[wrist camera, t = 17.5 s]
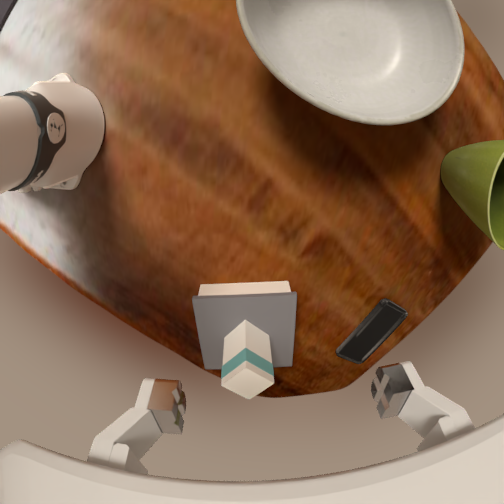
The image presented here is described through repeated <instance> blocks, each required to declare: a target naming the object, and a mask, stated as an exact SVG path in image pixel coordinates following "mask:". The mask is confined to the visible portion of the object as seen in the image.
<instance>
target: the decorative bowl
mask: <svg viewBox="0 0 504 504" xmlns="http://www.w3.org/2000/svg"><path fill="white" fill-rule="evenodd" d="M236 6H237V12H238V16H239V20H240V24H241V26H242V29H243V32H244V34H245V36H246V38H247V40H248V42H249V44H250V45H251V47H252V49H253V50H254V52H255V53H256V55H257V56H258V58H259V59H260V60H261V61H262V63H263V64H264V65H265V66H266V68H267V69H268V70H269V71H270V72H271V73H272V74H273V75H274V76H275V77H276V78H277V79H278V80H279V81H280V82H281V83H283V84H284V85H285V86H286V87H287V88H288V89H290V90H291V91H292V92H294V93H295V94H296V95H298V96H299V97H301V98H302V99H304V100H305V101H307V102H309V103H310V104H312V105H314V106H316V107H318V108H320V109H322V110H324V111H326V112H328V113H330V114H333V115H335V116H338V117H341V118H344V119H347V120H351V121H355V122H359V123H364V124H371V125H399V124H405V123H409V122H413V121H416V120H418V119H421V118H423V117H425V116H427V115H429V114H431V113H432V112H434V111H435V110H437V109H438V108H439V107H440V106H441V105H442V104H444V102H445V101H446V100H447V99H448V98H449V97H450V95H451V94H452V92H453V91H454V89H455V87H456V85H457V83H458V81H459V78H460V76H461V72H462V68H463V63H464V38H463V32H462V28H461V24H460V20H459V17H458V15H457V12H456V9H455V7H454V5H453V3H452V1H451V0H236Z"/></svg>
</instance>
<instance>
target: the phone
mask: <svg viewBox="0 0 504 504" xmlns="http://www.w3.org/2000/svg"><path fill="white" fill-rule="evenodd" d="M407 314H408V313H407V311H406V310H405V309H403V308H402V307H400V306H399V305H397V304H395V303H394V302H392V301H390V300H389V299H387V298H385V299H382V300H381V301H380V302H379V303H378V304H377V305H376V307H375V308H374V309H373V310H372V311H371V312H370V313H369V315H368V316H367V317H366V318H365V319H364V320H363V321H362V322H361V323H360V325H359V326H358V327H357V328H356V329H355V330H354V331H353V332H352V333H351V334H350V335H349V337H348V338H347V339H346V340H345V341H344V342H343V343H342V344H341V345H340V346H339V347H338V348H337V349H336V354H337V356H339V357H341V358H344V359H346V360H349V361H352V362H354V363H357V364H361V363H363V362H364V361H365V360H366V359H367V358H368V357H369V356H370V355H371V354H372V353H373V352H374V351H375V350H376V349H377V348H378V347H379V346H380V345H381V344H382V343H383V342H384V341H385V340H386V339H387V338H388V337H389V336H390V335H391V334H392V333H393V332H394V330H395V329H396V328H397V327H398V326H399V325H400V324H401V323H402V322H403V321H404V319H405V318H406V317H407Z"/></svg>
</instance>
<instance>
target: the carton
mask: <svg viewBox="0 0 504 504" xmlns="http://www.w3.org/2000/svg"><path fill="white" fill-rule="evenodd" d="M221 379H222V381H221V386H223V387H225V388H227V389H229V390H231V391H232V392H234V393H236V394H238V395H241V396H242V397H244V398H247V399H251V398H253V397H254V396H256V395H257V394H259V393H261V392H262V391H264V390H265V389H267V388H268V387H270V386H271V385H273V384H274V371H273V364H272V357H271V348H270V339H269V335H268V334H266V333H265V332H263V331H262V330H260V329H259V328H257V327H256V326H254V325H253V324H251V323H250V322H248V321H247V320H244V321H243V322H242V323H241V324H239V325H238V326H237V327H236V328H235V329H234V330H233V331H231V332H230V333H229V334H228V335H227V336H226V337H225V338H224V350H223V365H222V373H221Z"/></svg>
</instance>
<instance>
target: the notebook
mask: <svg viewBox="0 0 504 504" xmlns="http://www.w3.org/2000/svg"><path fill="white" fill-rule="evenodd" d="M16 1H17V0H0V30H1V28H2V26H3V24H4V22H5V21H6V19H7V17H8V15H9V13H10V11H11V9H12V8H13V6H14V4H15V2H16Z"/></svg>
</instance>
